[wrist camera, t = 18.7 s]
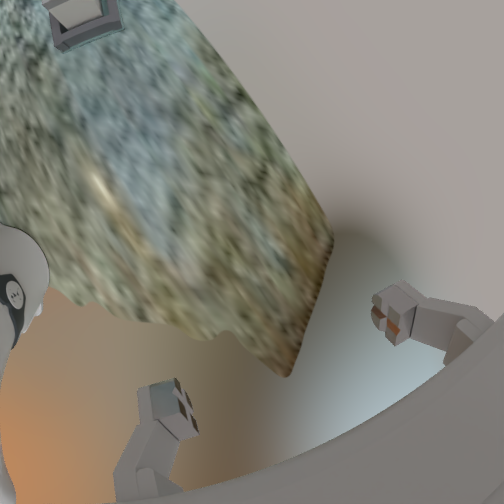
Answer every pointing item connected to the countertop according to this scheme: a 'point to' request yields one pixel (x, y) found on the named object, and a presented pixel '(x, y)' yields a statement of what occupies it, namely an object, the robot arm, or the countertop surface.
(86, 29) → the socket block
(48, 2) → the plug
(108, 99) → the countertop surface
